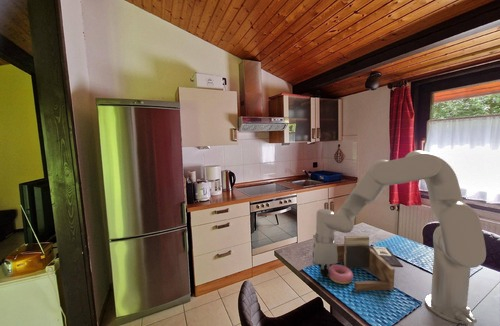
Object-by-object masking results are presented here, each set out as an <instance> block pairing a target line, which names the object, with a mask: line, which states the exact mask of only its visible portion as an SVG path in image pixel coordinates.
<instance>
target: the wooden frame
mask: <svg viewBox="0 0 500 326" xmlns="http://www.w3.org/2000/svg"><path fill="white" fill-rule="evenodd" d="M343 241H344V242H343V243H336V245H337V253H338V262H337V263H343V266H345V267H346V246H363V245H369V246H370V237H369V236H368V235H366V234H365V235H344V240H343ZM368 269H370V271H372V272H373V273H374V274H375V275H376V277H378V279H379V280H364V281H363V280H360V281H359V280H358V281H357V280H355V281H354V283H353V284H354V289H355V291H357V292H360V291H390V290H391V291H393V290H394V289H395V271H396V270H395V268H394V266H390V265H389V264H388V263H387V262H386V261H385V260H384V259H383V258H381V257H380V256H379V255H378V254H377V253H376V252H375V251H374V250H373V249H371V248H370V261H369V268H368Z"/></svg>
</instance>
